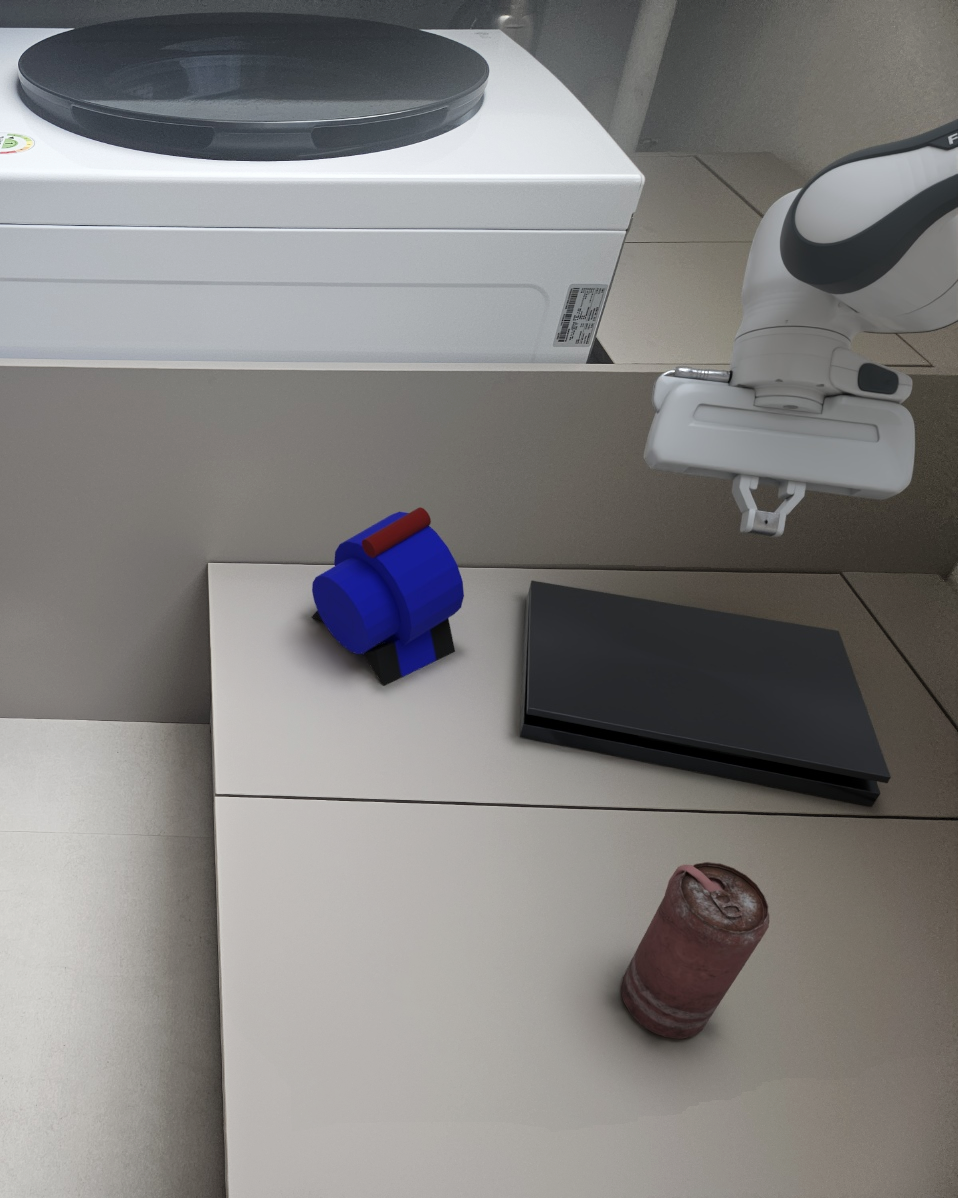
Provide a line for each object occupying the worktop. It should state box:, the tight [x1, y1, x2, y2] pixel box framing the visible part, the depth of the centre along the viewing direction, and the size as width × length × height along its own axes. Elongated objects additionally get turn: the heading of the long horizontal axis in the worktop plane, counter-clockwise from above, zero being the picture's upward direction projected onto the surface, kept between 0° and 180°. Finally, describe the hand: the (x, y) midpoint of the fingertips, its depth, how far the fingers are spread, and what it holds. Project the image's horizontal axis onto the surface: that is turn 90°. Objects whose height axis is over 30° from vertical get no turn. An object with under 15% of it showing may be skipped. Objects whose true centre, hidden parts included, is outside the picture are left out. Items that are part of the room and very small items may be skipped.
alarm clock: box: [311, 507, 465, 687], centre depth 105 cm, size 12×12×15 cm
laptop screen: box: [527, 580, 892, 784], centre depth 101 cm, size 21×30×1 cm
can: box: [620, 861, 770, 1040], centre depth 73 cm, size 6×6×14 cm
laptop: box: [519, 587, 881, 807], centre depth 102 cm, size 21×30×2 cm
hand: (760, 533), depth 89 cm, fingers closed
